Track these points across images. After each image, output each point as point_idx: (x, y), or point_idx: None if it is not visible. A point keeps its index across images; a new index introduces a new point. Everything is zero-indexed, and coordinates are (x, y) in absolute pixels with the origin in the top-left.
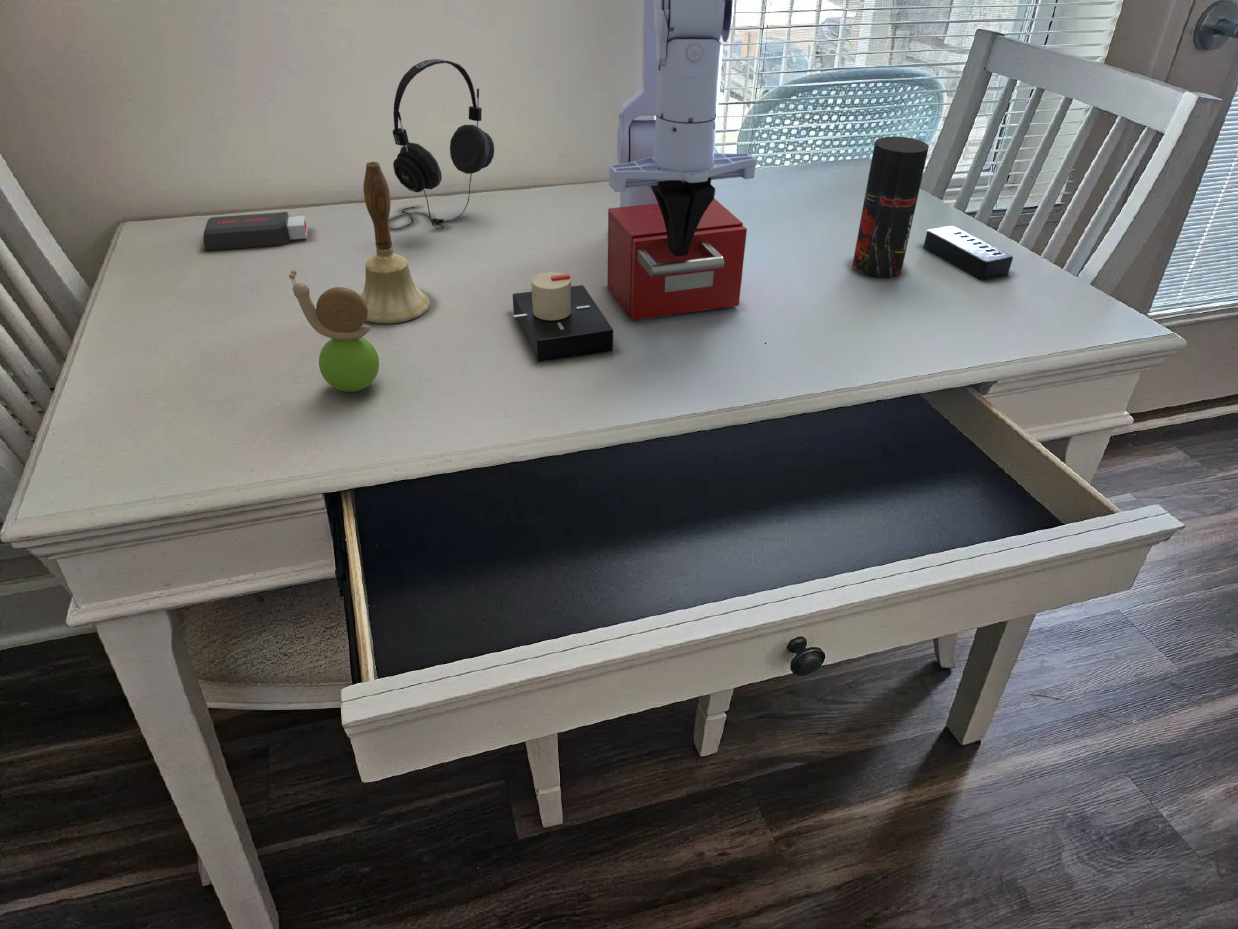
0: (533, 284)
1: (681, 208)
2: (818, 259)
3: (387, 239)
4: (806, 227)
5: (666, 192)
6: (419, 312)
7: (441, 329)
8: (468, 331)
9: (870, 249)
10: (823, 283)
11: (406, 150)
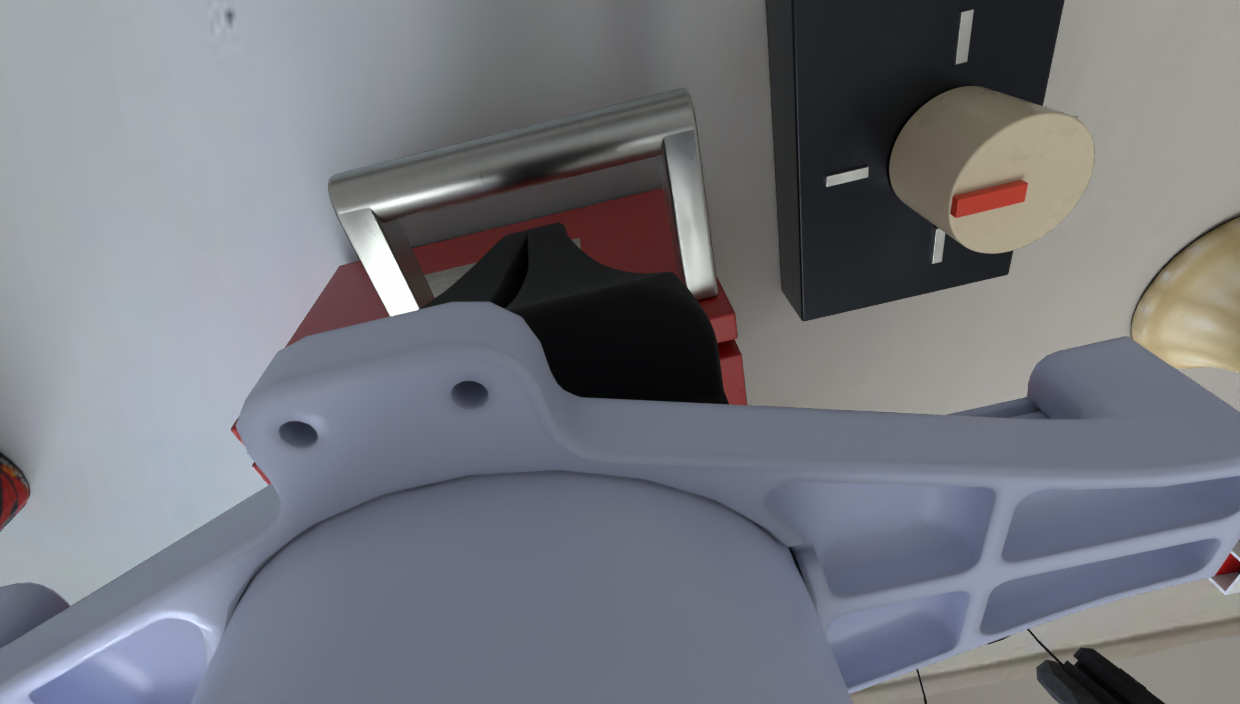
0: (1094, 156)
1: (558, 293)
2: (136, 510)
3: None
4: None
5: (682, 387)
6: (1198, 250)
7: (1177, 173)
8: (1118, 158)
9: None
10: (94, 399)
11: None
